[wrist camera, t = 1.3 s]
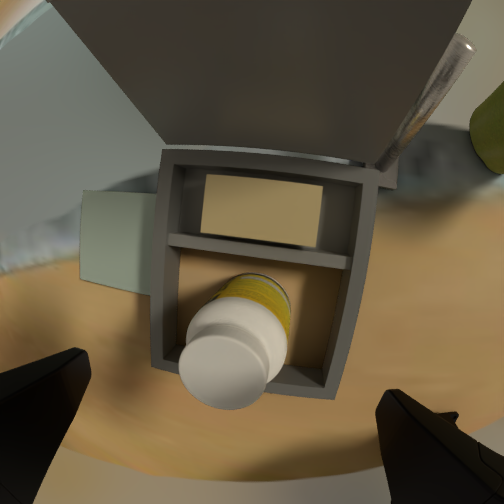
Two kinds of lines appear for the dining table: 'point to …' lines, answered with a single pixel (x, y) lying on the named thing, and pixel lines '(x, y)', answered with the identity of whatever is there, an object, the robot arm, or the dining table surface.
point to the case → (263, 239)
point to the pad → (117, 239)
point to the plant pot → (490, 130)
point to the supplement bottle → (237, 342)
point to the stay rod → (423, 107)
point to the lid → (270, 67)
